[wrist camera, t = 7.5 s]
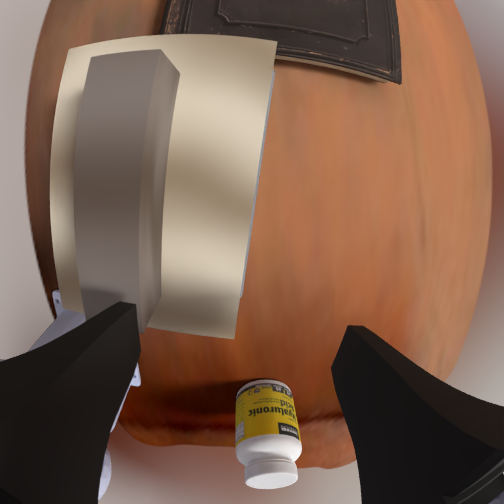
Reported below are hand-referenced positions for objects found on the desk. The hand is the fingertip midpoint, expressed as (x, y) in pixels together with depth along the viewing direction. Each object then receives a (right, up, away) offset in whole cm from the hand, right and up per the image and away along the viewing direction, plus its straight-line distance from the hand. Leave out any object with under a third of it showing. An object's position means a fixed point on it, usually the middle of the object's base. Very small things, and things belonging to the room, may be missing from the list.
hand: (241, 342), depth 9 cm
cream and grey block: (-5, +6, +3) cm, 8 cm away
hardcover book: (+3, +26, +2) cm, 26 cm away
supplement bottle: (+1, -11, +15) cm, 19 cm away
